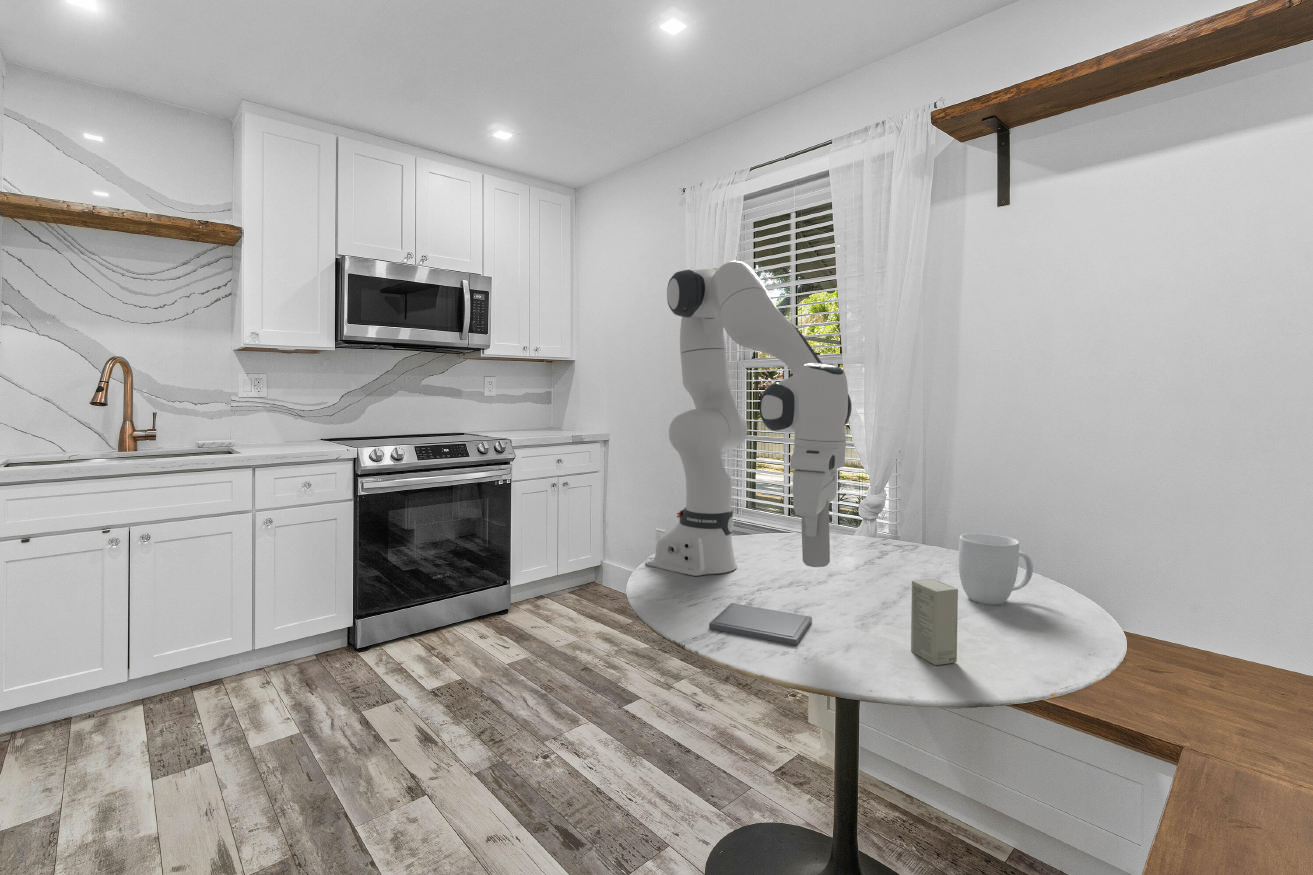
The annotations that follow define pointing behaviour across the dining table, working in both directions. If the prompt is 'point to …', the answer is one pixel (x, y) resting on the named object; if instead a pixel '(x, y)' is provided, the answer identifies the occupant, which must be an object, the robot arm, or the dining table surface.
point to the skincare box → (934, 621)
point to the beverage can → (817, 541)
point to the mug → (990, 567)
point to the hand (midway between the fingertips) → (815, 531)
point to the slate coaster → (762, 623)
